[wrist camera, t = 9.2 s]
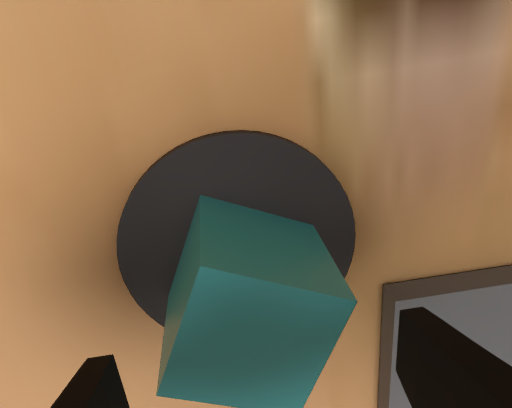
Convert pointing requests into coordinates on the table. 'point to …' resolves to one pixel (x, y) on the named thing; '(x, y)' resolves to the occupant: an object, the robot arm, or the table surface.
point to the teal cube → (250, 310)
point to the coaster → (230, 190)
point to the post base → (447, 318)
